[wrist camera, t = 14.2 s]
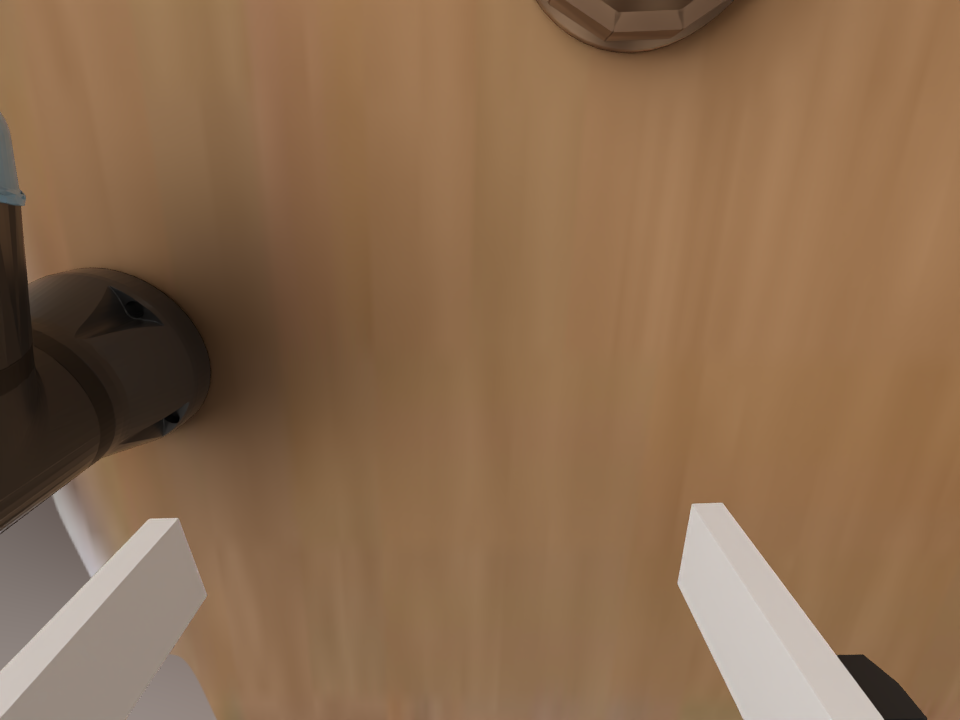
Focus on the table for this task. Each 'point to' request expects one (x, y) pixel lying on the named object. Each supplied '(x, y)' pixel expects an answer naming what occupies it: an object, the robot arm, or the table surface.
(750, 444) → the table surface
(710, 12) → the round tray
